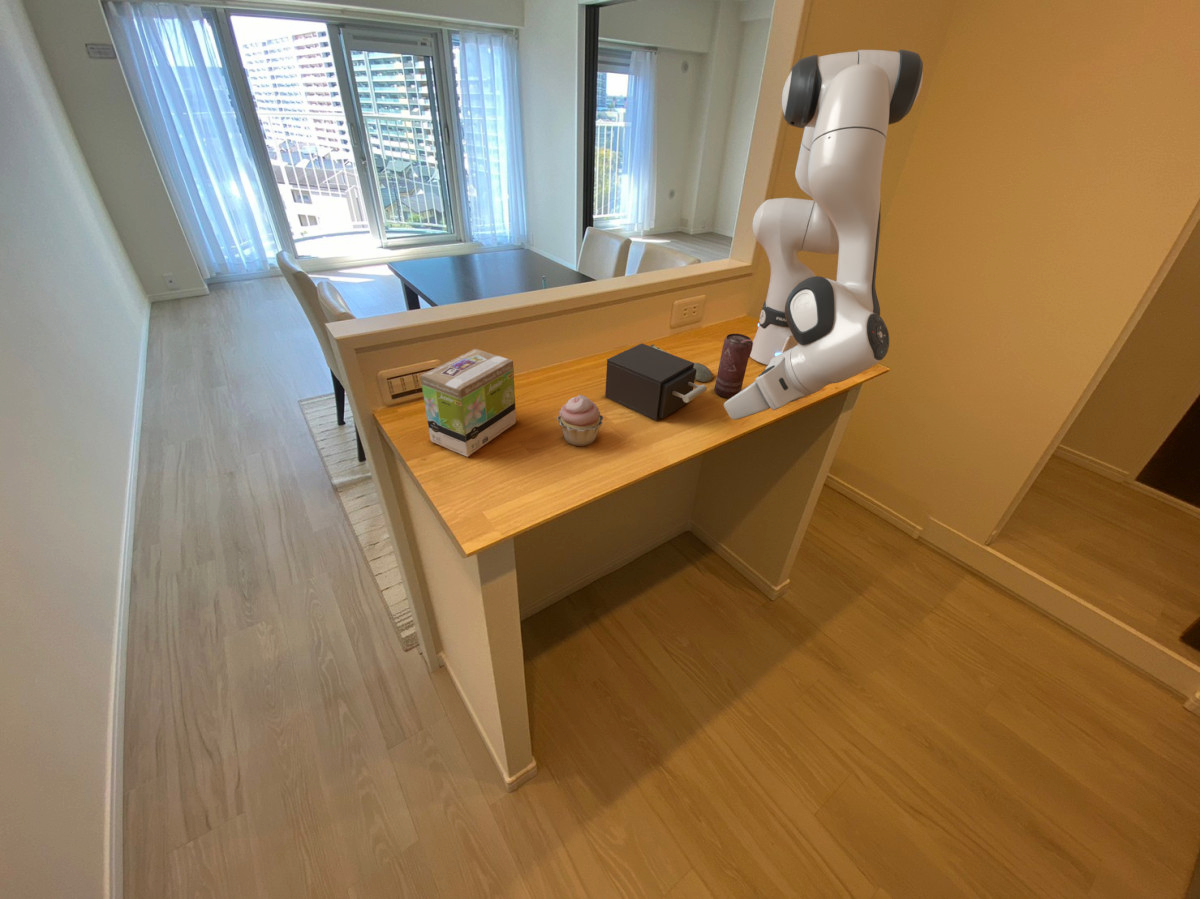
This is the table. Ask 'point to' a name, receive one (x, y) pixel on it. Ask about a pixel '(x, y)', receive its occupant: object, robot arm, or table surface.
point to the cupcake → (580, 421)
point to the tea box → (469, 400)
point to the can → (733, 365)
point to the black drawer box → (642, 378)
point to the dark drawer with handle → (679, 392)
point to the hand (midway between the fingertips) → (732, 403)
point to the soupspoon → (698, 370)
